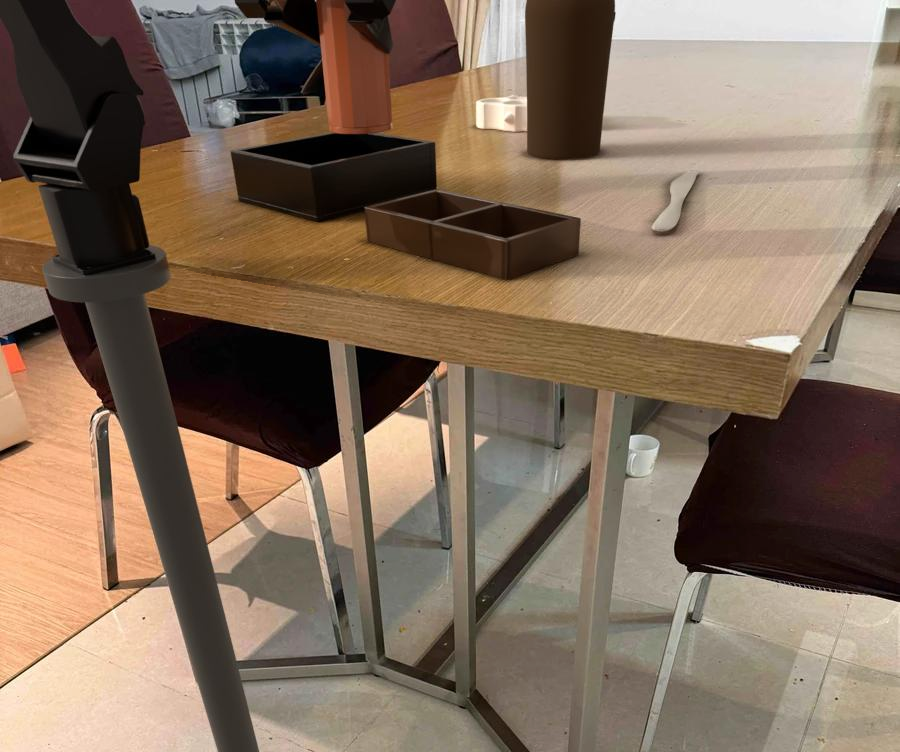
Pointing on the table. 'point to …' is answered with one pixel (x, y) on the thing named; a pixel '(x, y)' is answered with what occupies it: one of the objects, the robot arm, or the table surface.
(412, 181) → the black open box
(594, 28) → the dark brown cylinder
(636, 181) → the table surface
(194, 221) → the table surface
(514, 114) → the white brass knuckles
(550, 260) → the brown divided tray
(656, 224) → the butter knife
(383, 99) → the cup
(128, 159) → the robot arm
